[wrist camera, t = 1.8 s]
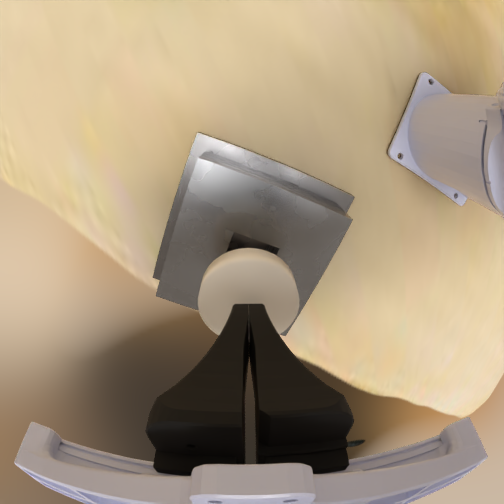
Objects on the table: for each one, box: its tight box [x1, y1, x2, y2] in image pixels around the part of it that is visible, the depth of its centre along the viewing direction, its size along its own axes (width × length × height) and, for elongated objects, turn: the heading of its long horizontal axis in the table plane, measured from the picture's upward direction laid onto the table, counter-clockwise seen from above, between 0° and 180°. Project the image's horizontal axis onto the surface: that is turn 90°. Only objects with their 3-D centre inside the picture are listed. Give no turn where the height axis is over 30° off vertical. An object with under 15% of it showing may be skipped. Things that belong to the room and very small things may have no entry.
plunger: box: [198, 248, 299, 335], centre depth 16 cm, size 5×5×5 cm
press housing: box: [153, 132, 354, 336], centre depth 20 cm, size 12×12×4 cm
